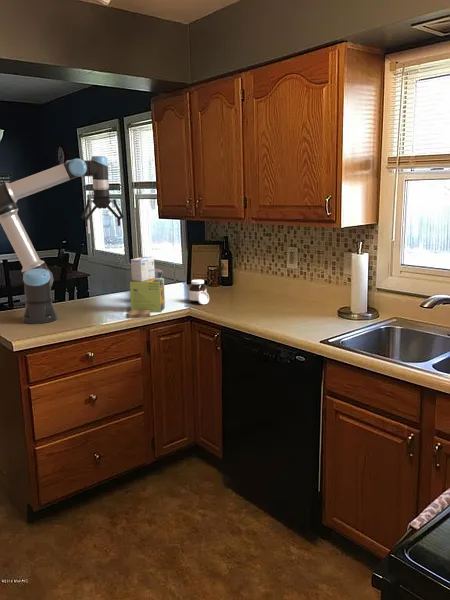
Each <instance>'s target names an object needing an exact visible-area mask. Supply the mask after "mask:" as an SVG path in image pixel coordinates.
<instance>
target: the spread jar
mask: <svg viewBox="0 0 450 600" xmlns="http://www.w3.org/2000/svg"><path fill="white" fill-rule="evenodd" d="M190 282H191V283H190V286H189V289H188V294H189V295H188V298H189V301H190V303H192V304H200V305H207V304H208V303H209V302H210V295H209V293H208V292H207V286H206V284H205V280H204V279H192V280H191V281H190Z"/></svg>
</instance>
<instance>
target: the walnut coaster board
mask: <svg viewBox="0 0 450 600" xmlns="http://www.w3.org/2000/svg"><path fill="white" fill-rule="evenodd" d="M150 317H151V312H150V310H136V311H131V310H128V318H130V319H133V318H134V319H135V318H150Z"/></svg>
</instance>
